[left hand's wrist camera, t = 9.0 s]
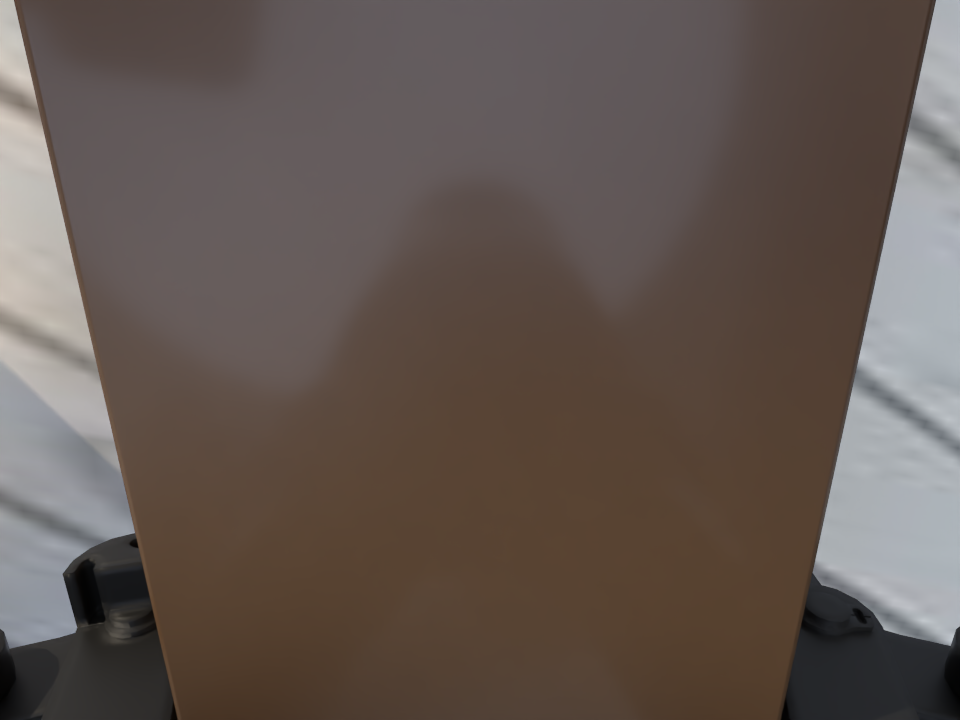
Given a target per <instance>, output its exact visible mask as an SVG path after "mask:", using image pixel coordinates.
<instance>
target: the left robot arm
mask: <svg viewBox="0 0 960 720" xmlns="http://www.w3.org/2000/svg"><path fill="white" fill-rule="evenodd" d="M63 577H64V581H65V584H66V588H67V592H68V595H69V599H70V602H71V606H72V610H73V613H74V617H75V621H76V624H77V630H76V633H74V634H70V635H67V636H64V637H60V638H56V639H51V640H47V641H42V642H38V643H34V644H29V645H25V646H20V647H16V648H11V649H9V646H8V643H7V640H6V637H5V634H4V632H3V631H2V630H1V629H0V720H178V718H177V714H176V709H175V705H174V701H173V696H172V692H171V688H170V683H169V679H168V674H167V670H166V666H165V661H164V657H163V652H162V648H161V644H160V639H159V635H158V630H157V626H156V622H155V617H154V613H153V608H152V604H151V600H150V595H149V591H148V586H147V582H146V578H145V573H144V569H143V564H142V560H141V556H140V551H139V547H138V543H137V538H136V534H130V535H126V536H122V537H118V538H114V539H110V540H108V541H106V542H104V543H101V544H99V545H97V546H95V547H92V548H90V549H89V550H87V551H86V552H85V553H83V554H82V555H80V556H79V557H78V558H76V559H75V560H73V562H72V563H71V564H70V565H69V567H68V568H67V569H66V570H65V572H64V573H63ZM781 720H960V627H959V628H957V629H956V632H955V635H954V638H953V641H952V644H951V646H948V645H943V644H939V643H934V642H930V641H925V640H921V639H916V638H912V637H907V636H903V635H899V634H895V633H892V632H889V631H885V630H884V629H883V627H882V625H881V624H880V623H879V621H878V620H877V618H876V617H875V615H874V614H873V612H871V611H870V610H869V609H868V608H866V607H865V606H864V605H863V604H862V603H860V602H859V601H858V600H857V599H855V598H853V597H851V596H849V595H847V594H845V593H843V592H841V591H839V590H837V589H833V588H830V587H826V586H822V585H821V584H820V583H819V581H818V580H817V579H816V577H815V576H814V574H813V573H812V577H811V581H810V586H809V591H808V595H807V600H806V605H805V609H804V614H803V619H802V623H801V628H800V632H799V637H798V642H797V646H796V651H795V656H794V660H793V665H792V670H791V674H790V679H789V683H788V688H787V693H786V697H785V702H784V707H783V711H782V716H781Z"/></svg>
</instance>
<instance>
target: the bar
mask: <svg viewBox="0 0 960 720" xmlns="http://www.w3.org/2000/svg"><path fill="white" fill-rule="evenodd" d="M14 2H15V6H16V11H17V15H18V20H19V24H20V28H21V33H22V37H23V42H24V46H25V50H26V55H27V59H28V64H29V68H30V72H31V77H32V81H33V86H34V90H35V94H36V99H37V103H38V108H39V112H40V116H41V121H42V125H43V129H44V134H45V138H46V143H47V147H48V151H49V156H50V160H51V165H52V169H53V173H54V178H55V182H56V187H57V191H58V195H59V200H60V204H61V209H62V213H63V217H64V222H65V226H66V231H67V235H68V239H69V244H70V248H71V253H72V257H73V261H74V266H75V270H76V274H77V279H78V283H79V288H80V292H81V296H82V301H83V305H84V310H85V314H86V318H87V323H88V327H89V332H90V336H91V340H92V345H93V349H94V354H95V358H96V362H97V367H98V371H99V376H100V380H101V384H102V389H103V393H104V398H105V402H106V406H107V411H108V415H109V419H110V424H111V428H112V433H113V437H114V441H115V446H116V450H117V455H118V459H119V463H120V468H121V472H122V477H123V481H124V485H125V490H126V494H127V499H128V503H129V507H130V512H131V516H132V521H133V525H134V529H135V534H136V538H137V543H138V547H139V551H140V556H141V560H142V564H143V569H144V573H145V578H146V582H147V586H148V591H149V595H150V600H151V604H152V608H153V613H154V617H155V622H156V626H157V630H158V635H159V639H160V644H161V648H162V652H163V657H164V661H165V666H166V670H167V674H168V679H169V683H170V688H171V692H172V696H173V701H174V705H175V709H176V714H177V718H178V720H781V716H782V711H783V707H784V702H785V697H786V693H787V688H788V683H789V679H790V674H791V670H792V665H793V660H794V656H795V651H796V646H797V642H798V637H799V632H800V628H801V623H802V619H803V614H804V609H805V605H806V600H807V595H808V591H809V586H810V581H811V577H812V572H813V568H814V563H815V558H816V554H817V549H818V544H819V540H820V535H821V530H822V526H823V521H824V517H825V512H826V507H827V503H828V498H829V493H830V489H831V484H832V479H833V475H834V470H835V466H836V461H837V456H838V452H839V447H840V442H841V438H842V433H843V428H844V424H845V419H846V415H847V410H848V405H849V401H850V396H851V391H852V387H853V382H854V377H855V373H856V368H857V364H858V359H859V354H860V350H861V345H862V340H863V336H864V331H865V326H866V322H867V317H868V313H869V308H870V303H871V299H872V294H873V289H874V285H875V280H876V275H877V271H878V266H879V262H880V257H881V252H882V248H883V243H884V238H885V234H886V229H887V224H888V220H889V215H890V211H891V206H892V201H893V197H894V192H895V187H896V183H897V178H898V173H899V169H900V164H901V160H902V155H903V150H904V146H905V141H906V136H907V132H908V127H909V122H910V118H911V113H912V109H913V104H914V99H915V95H916V90H917V85H918V81H919V76H920V71H921V67H922V62H923V58H924V53H925V48H926V44H927V39H928V34H929V30H930V25H931V20H932V16H933V11H934V7H935V2H936V0H14Z"/></svg>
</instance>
